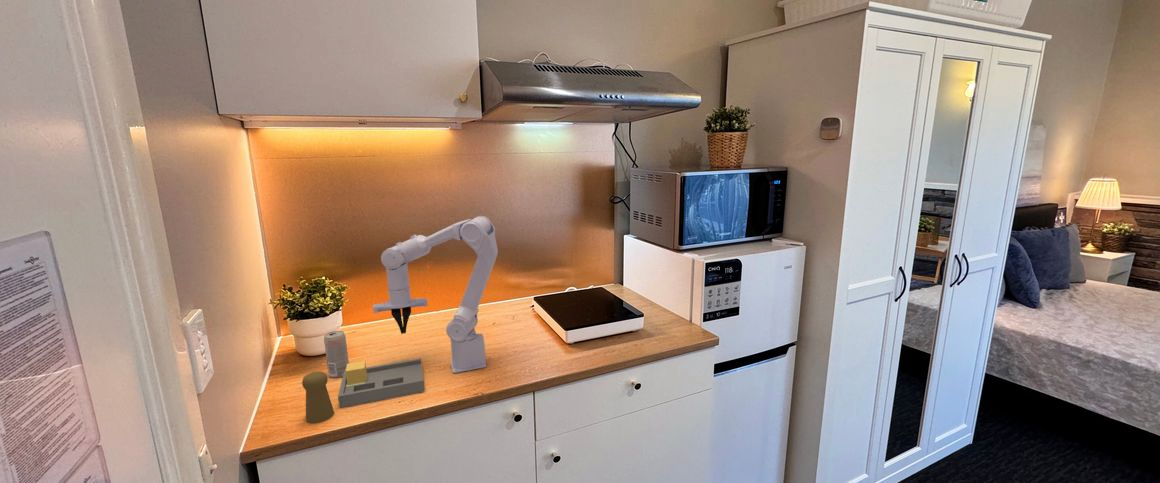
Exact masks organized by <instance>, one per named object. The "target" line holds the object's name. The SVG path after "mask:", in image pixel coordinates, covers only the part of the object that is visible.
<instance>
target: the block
mask: <svg viewBox="0 0 1160 483" xmlns="http://www.w3.org/2000/svg"><path fill="white" fill-rule="evenodd" d="M366 367H367V362H366V360H362V361H358V362H357V361H356V362H349V364H347V367H346V371H345V372H346V379H347V385H352V384H357V383H363V382H366V379H367V370H366Z"/></svg>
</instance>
